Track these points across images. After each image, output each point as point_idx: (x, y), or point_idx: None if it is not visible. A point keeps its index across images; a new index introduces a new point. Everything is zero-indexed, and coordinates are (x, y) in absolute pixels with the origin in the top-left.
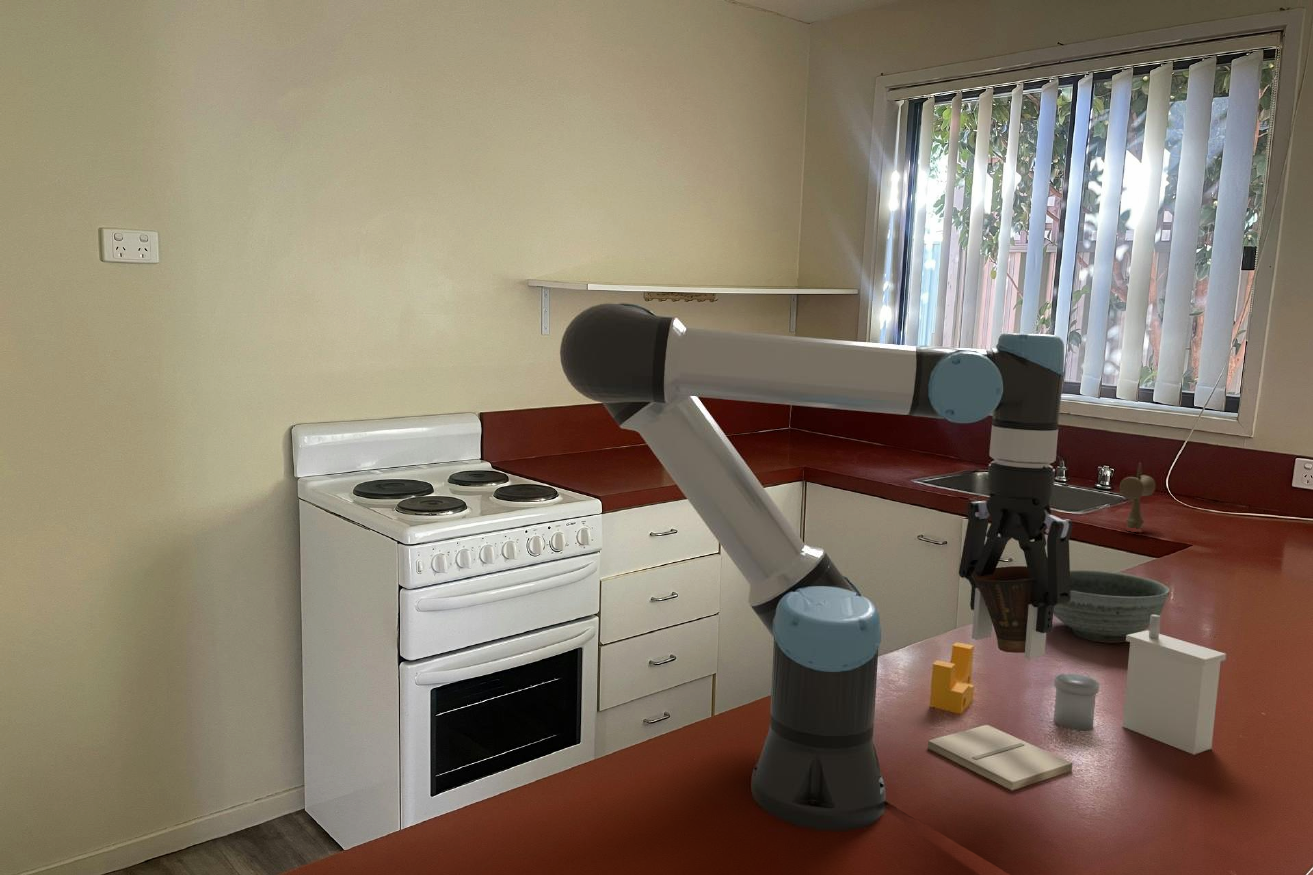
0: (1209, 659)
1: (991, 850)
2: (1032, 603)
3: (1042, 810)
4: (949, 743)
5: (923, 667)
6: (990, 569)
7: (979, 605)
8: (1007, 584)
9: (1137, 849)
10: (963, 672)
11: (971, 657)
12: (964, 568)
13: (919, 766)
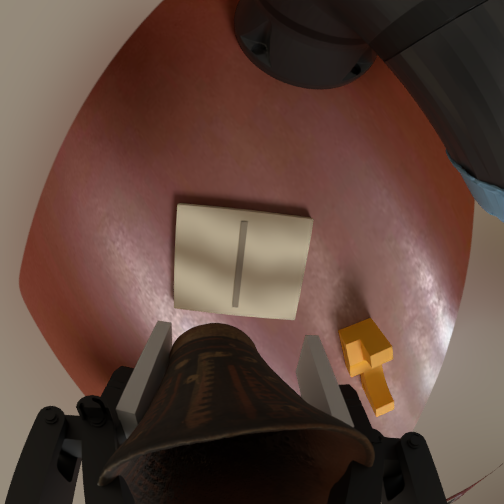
0: None
1: (122, 78)
2: (104, 406)
3: (135, 190)
4: (291, 234)
5: (410, 379)
6: (334, 496)
7: (323, 392)
8: (150, 437)
9: (58, 203)
10: (369, 384)
11: (372, 405)
12: (414, 455)
13: (285, 163)
